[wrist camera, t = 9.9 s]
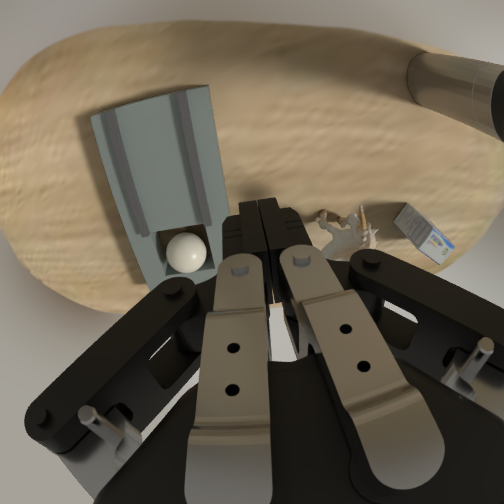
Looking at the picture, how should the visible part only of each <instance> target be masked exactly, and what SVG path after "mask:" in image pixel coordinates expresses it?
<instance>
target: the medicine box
mask: <svg viewBox="0 0 504 504" xmlns="http://www.w3.org/2000/svg"><path fill="white" fill-rule="evenodd" d="M394 223H395V224H396V226H397V227H398V228H399V229H400V230H401V231H402V232H403V233H404V234H405V236H406V237H407V238H408V239H409V240H410V241H411V242H412V244H413V245H414V246H415V247H416V248H417V249H418V250H419V251H421V252H422V253H424V254H425V255H426V256H428V257H429V258H431V259H432V260H433V261H435V262H436V263H438V264H439V265H440V264H441V263H442V262H443V261H444V260H445V259H446V258H447V257H448V255H449V254H450V253H451V252H452V250H453V249H454V247H455V246H454V245H453V244H452V242H451V241H450V240H449V239H448V238H447V237H446V236H445V235H444V234H443V233H442V232H441V231H440V230H439V229H438V228H437V227H436V226H435V225H434V224H433V223H432V222H431V221H429V220H428V219H427V218H426V217H425V216H423V215H422V214H421V213H420V212H418V211H417V210H416V209H415V208H413V207H412V206H411V205H410V204H409V203H407V204H406V205H405V207H404V208H403V209H402V211H401V212H400V213H399V215H398V216H397V217H396V219H395V220H394Z"/></svg>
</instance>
